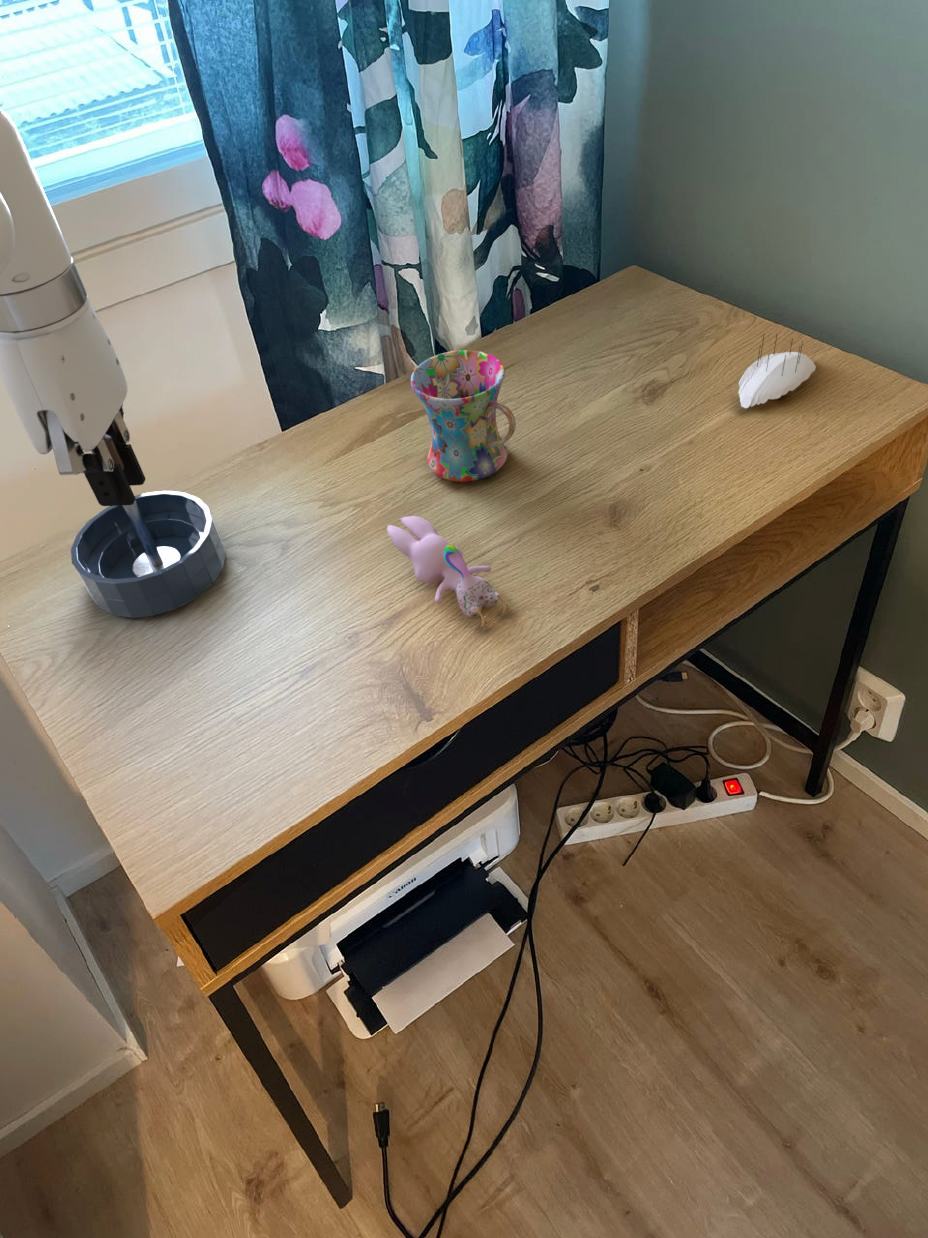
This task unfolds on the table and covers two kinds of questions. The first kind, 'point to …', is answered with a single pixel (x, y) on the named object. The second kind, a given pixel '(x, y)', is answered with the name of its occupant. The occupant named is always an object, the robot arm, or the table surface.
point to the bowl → (114, 548)
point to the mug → (463, 413)
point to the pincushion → (773, 376)
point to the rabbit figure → (445, 567)
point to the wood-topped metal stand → (143, 531)
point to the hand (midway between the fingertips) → (123, 492)
